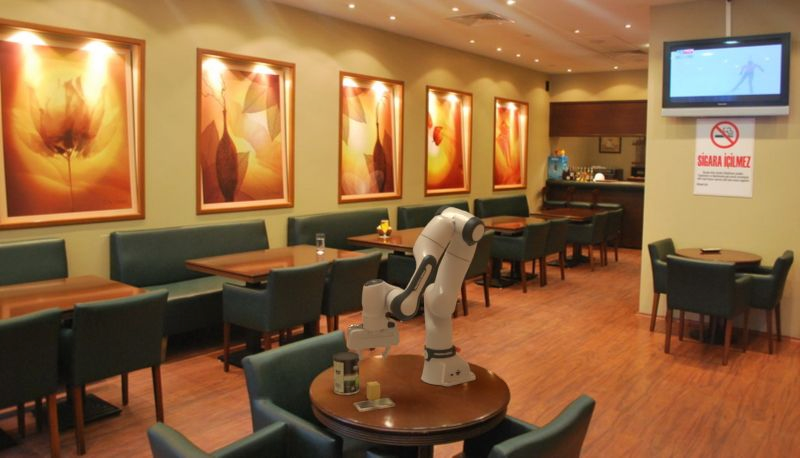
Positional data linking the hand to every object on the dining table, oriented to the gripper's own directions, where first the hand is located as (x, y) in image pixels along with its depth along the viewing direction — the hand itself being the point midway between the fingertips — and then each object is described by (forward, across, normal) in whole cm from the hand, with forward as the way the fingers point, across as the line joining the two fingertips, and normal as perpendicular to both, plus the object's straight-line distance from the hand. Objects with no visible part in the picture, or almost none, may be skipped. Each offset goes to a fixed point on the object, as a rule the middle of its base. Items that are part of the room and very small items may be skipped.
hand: (373, 358), depth 246 cm
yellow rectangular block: (+16, 0, 0) cm, 16 cm away
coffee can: (+16, -6, +12) cm, 21 cm away
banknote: (+16, -2, -6) cm, 17 cm away
